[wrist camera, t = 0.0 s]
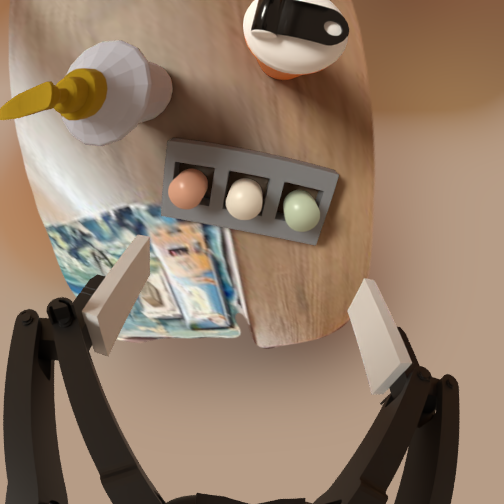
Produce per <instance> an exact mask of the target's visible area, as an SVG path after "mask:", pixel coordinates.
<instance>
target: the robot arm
mask: <svg viewBox="0 0 504 504" xmlns="http://www.w3.org/2000/svg"><path fill="white" fill-rule="evenodd" d="M149 276H150V237H147V236H142V235H137V236H136V238H135V239H134V240H133V241H132V243H131V244H130V245H129V246H128V248H127V249H126V250H125V252H124V253H123V254H122V256H121V257H120V258H119V259H118V261H117V262H116V263H115V265H114V266H113V267H112V269H111V270H110V272H109V273H108V274H107V276H106V277H105V276H101V275H96V276H95V277H93V278H92V279H90V280H89V281H88V283H87V284H86V285H85V288H83V289H82V291H81V293H79V295H78V296H77V298H76V299H75V300H74V302H73V303H72V301H71V300H70V299H68V298H64V297H62V298H56V299H54V300H52V301H51V302H50V303H49V305H48V306H47V314H48V316H49V318H48V319H47V318H39V316H38V314H37V312H36V311H34V310H31V309H28V310H24V311H22V312H21V313H20V314H19V315H18V316H17V318H16V321H15V325H14V330H13V335H12V340H11V345H10V351H9V358H8V365H7V372H6V382H5V393H4V415H3V418H4V419H3V420H4V422H3V426H4V427H3V430H4V451H5V462H6V471H7V479H8V486H7V493H6V502H5V504H68V499H67V493H66V487H65V483H64V478H63V473H62V468H61V462H60V456H59V450H58V441H57V433H56V421H55V404H54V360H59V364H60V368H61V372H62V376H63V379H64V383H65V387H66V390H67V394H68V397H69V400H70V403H71V406H72V409H73V412H74V415H75V418H76V421H77V423H78V426H79V428H80V431H81V433H82V436H83V438H84V441H85V443H86V446H87V448H88V450H89V453H90V455H91V457H92V459H93V461H94V463H95V465H96V467H97V470H98V471H99V474H100V480H101V483H102V485H103V487H104V489H105V491H106V493H107V495H108V496H109V498H110V500H111V502H112V503H113V504H248V503H244V502H241V501H237V500H233V499H230V498H227V497H224V496H215V495H208V494H201V493H197V494H196V495H191V496H183V497H180V498H176V499H173V500H171V501H169V502H167V503H165V501H164V500H163V498H162V497H161V496H160V494H159V493H158V491H157V490H156V488H155V487H154V485H153V484H152V483H151V481H150V480H149V478H148V477H147V475H146V474H145V472H144V471H143V469H142V467H141V466H140V464H139V462H138V460H137V459H136V457H135V455H134V454H133V452H132V450H131V448H130V446H129V444H128V442H127V441H126V439H125V437H124V435H123V433H122V431H121V429H120V427H119V425H118V423H117V421H116V418H115V416H114V414H113V412H112V410H111V408H110V405H109V403H108V401H107V398H106V396H105V394H104V391H103V389H102V386H101V383H100V381H99V378H98V376H97V373H96V370H95V367H94V365H93V362H92V359H91V356H90V353H89V350H90V348H91V346H93V349H94V351H95V352H97V353H100V354H102V355H105V356H109V354H110V352H111V349H112V347H113V345H114V343H115V341H116V339H117V337H118V335H119V333H120V331H121V329H122V327H123V325H124V323H125V321H126V319H127V317H128V315H129V313H130V311H131V309H132V307H133V305H134V303H135V301H136V300H137V298H138V296H139V294H140V292H141V290H142V288H143V286H144V285H145V283H146V281H147V279H148V277H149ZM348 314H349V317H350V320H351V323H352V326H353V330H354V333H355V336H356V339H357V343H358V346H359V349H360V353H361V356H362V360H363V363H364V367H365V371H366V375H367V378H368V382H369V386H370V390H371V394H384V393H385V392H386V391H387V390H388V388H390V391H391V393H390V394H389V395H388V396H387V397H386V398H385V399H384V400H383V401H382V402H381V403H380V404H381V405H382V404H383V403H384V404H383V406H382V408H381V410H380V412H379V414H378V416H377V417H376V419H375V421H374V423H373V425H372V426H371V428H370V430H369V431H368V433H367V435H366V436H365V438H364V439H363V441H362V443H361V444H360V446H359V447H358V449H357V450H356V452H355V454H354V455H353V457H352V458H351V459H350V461H349V462H348V464H347V465H346V467H345V468H344V470H343V471H342V472H341V474H340V475H339V476H338V478H337V479H336V480H335V482H334V483H333V484H332V486H331V487H330V488H329V490H327V491H326V492H325V493H324V494H323V495H321V496H320V497H319V498H318V499H317V500H316V501H315V502H314V503H313V504H386V502H387V500H388V496H387V495H386V490H387V488H388V486H389V485H390V483H391V481H392V479H393V477H394V475H395V473H396V471H397V469H398V468H399V466H400V464H401V461H402V459H403V457H404V455H405V453H406V451H407V448H408V446H409V448H408V453H407V458H406V462H405V466H404V471H403V475H402V479H401V482H400V486H399V490H398V493H397V497H396V500H395V503H394V504H451V499H452V494H453V488H454V482H455V475H456V467H457V457H458V445H459V386H458V382H457V381H456V379H455V378H454V377H453V376H451V375H449V374H446V375H444V376H443V377H442V378H441V379H436V378H433V377H432V376H431V374H430V372H429V371H428V370H427V369H426V368H424V367H422V366H419V364H418V361H417V359H416V356H415V354H414V351H413V349H412V347H411V345H410V342H408V341H409V340H408V338H407V336H406V334H405V332H404V331H403V330H402V329H401V328H400V327H397V326H396V324H395V322H394V320H393V318H392V315H391V313H390V311H389V309H388V307H387V305H386V303H385V301H384V299H383V296H382V294H381V293H380V290H379V288H378V286H377V284H376V282H375V281H374V280H371V279H365V278H364V280H363V282H362V284H361V286H360V288H359V290H358V292H357V294H356V296H355V298H354V299H353V301H352V303H351V305H350V307H349V309H348ZM435 410H436V413H435ZM259 504H312V503H309V502H305V498H298V499H278V500H274V501H270V502H265V503H259Z"/></svg>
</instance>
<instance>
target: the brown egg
mask: <svg viewBox="0 0 504 504" xmlns="http://www.w3.org/2000/svg"><path fill="white" fill-rule="evenodd" d="M207 189H208V180H207V178H206V176H205V175H204V173H202V172H201V171H200V170H197V169H193V168H190V169H186V170H184V171H182V172H181V173H180V174H179V175H178V176H177V177H176V178H175V179H174V180H173V181H172V182H171V183H170V185H169V189H168V195H169V198H170V200H171V202H172V203H173V204H174V205H175V206H177V207H178V208H181V209H192V208H194V207H196V206H197V205H198V204H199V203H200V202H201V200H202V198H203V196H204V195H205V193H206V191H207Z"/></svg>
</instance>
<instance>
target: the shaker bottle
mask: <svg viewBox="0 0 504 504" xmlns="http://www.w3.org/2000/svg"><path fill="white" fill-rule="evenodd" d="M243 29H244V36H245V40H246V43H247V46H248V48H249V49H250V51H251V52H252V54H253V55H254V56H255V57H256V59H257V61H258V63H259V65H260V67H261V69H262V70H263V71H264V72H265V73H266V74H267V75H268V76H270V77H272V78H275V79H279V80H289V79H293V78H295V77H298V76H300V75H306V74H312V73H315V72H318V71H321V70H323V69H325V68H326V67H328V66H330V65H331V64H332V63H334V62H335V61H336V60H337V59H338V58H339V57H340V56H341V55H342V53H343V52H344V50H345V47H346V44H347V40H348V34H349V27H348V23H347V22H346V20H345V18H344V17H343V15H342V14H341V12H340V11H339V9H338V8H337V7H336V6H335V5H334V4H333V3H332V2H331V1H329V0H255V1H253V2H252V4H251V5H250V6H249V8H248V9H247V11H246V14H245V16H244V22H243Z"/></svg>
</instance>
